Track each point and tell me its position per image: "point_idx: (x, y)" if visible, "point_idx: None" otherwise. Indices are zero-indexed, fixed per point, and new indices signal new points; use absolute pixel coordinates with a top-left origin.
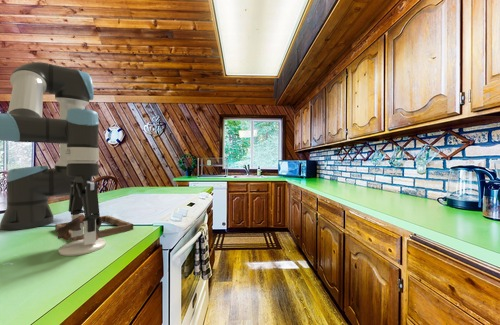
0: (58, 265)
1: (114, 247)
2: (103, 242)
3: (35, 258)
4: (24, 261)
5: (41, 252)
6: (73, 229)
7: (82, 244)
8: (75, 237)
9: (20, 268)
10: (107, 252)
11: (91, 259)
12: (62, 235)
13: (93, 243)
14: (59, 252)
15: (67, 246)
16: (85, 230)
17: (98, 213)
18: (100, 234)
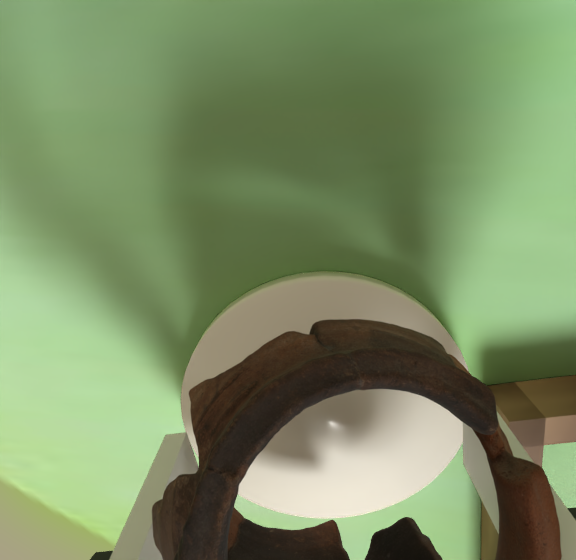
0: (69, 250)
1: None
2: (271, 502)
3: (335, 130)
4: (322, 55)
5: (464, 172)
6: (162, 501)
7: (332, 412)
8: (539, 407)
9: (164, 33)
10: (133, 472)
11: (64, 398)
12: (229, 374)
13: (298, 461)
14: (299, 278)
15: None
16: (118, 554)
17: None
18: (492, 525)
